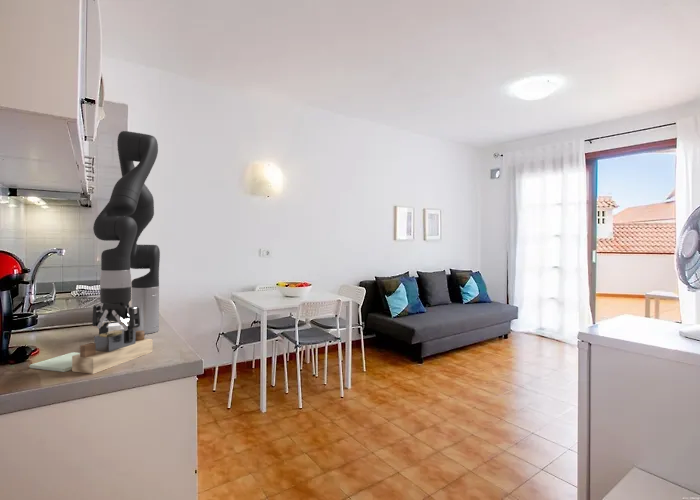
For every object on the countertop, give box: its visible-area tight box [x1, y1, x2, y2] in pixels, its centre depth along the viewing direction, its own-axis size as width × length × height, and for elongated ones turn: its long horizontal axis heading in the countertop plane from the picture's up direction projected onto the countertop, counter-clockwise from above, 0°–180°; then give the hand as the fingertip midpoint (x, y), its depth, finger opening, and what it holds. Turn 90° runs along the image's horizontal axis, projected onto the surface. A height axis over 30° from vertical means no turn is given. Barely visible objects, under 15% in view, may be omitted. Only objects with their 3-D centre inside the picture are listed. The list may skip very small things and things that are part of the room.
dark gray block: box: [93, 329, 136, 352], centre depth 106 cm, size 5×9×5 cm, turn 166°
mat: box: [29, 351, 80, 373], centre depth 104 cm, size 12×12×1 cm
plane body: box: [71, 331, 154, 375], centre depth 106 cm, size 7×20×7 cm, turn 166°
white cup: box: [107, 322, 124, 332], centre depth 122 cm, size 7×7×7 cm
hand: (115, 341), depth 106 cm, fingers open, 8 cm apart
